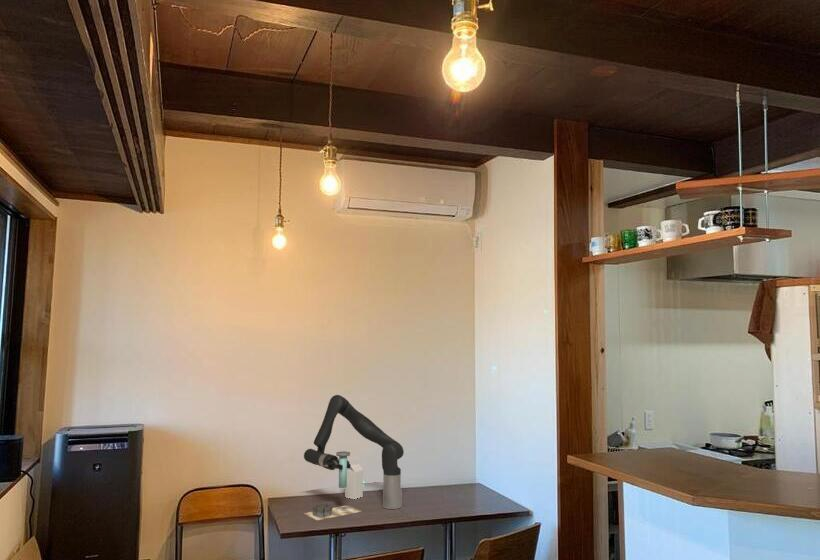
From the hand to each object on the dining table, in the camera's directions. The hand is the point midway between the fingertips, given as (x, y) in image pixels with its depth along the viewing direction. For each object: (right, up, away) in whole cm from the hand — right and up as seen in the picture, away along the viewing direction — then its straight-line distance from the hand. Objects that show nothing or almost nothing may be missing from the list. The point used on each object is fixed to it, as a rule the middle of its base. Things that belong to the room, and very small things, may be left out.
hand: (345, 466), depth 308 cm
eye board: (-6, -24, -3) cm, 25 cm away
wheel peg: (-2, -11, +1) cm, 11 cm away
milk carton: (+1, -27, +32) cm, 42 cm away
